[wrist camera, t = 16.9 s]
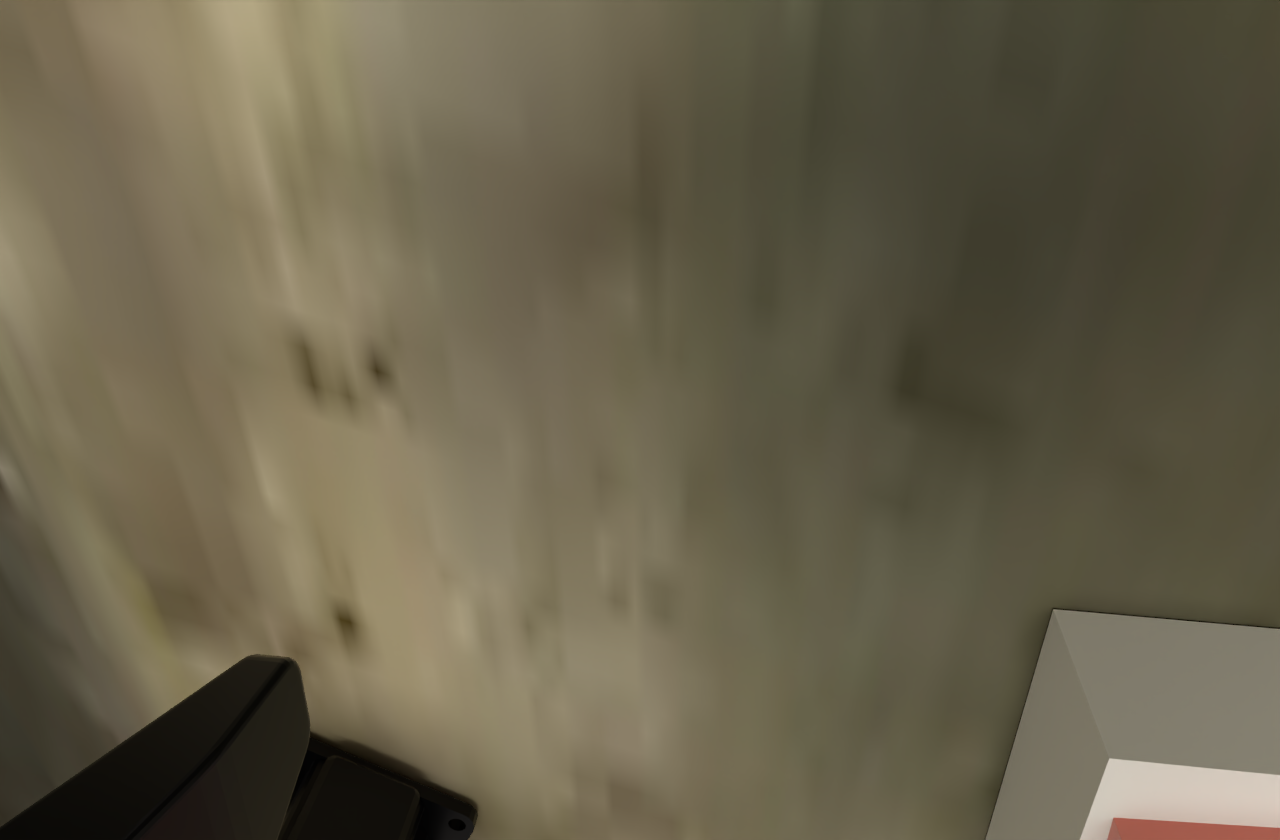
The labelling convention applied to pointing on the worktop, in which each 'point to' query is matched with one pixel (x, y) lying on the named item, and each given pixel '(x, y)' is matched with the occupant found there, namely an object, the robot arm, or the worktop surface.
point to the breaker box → (1144, 728)
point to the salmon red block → (1186, 831)
